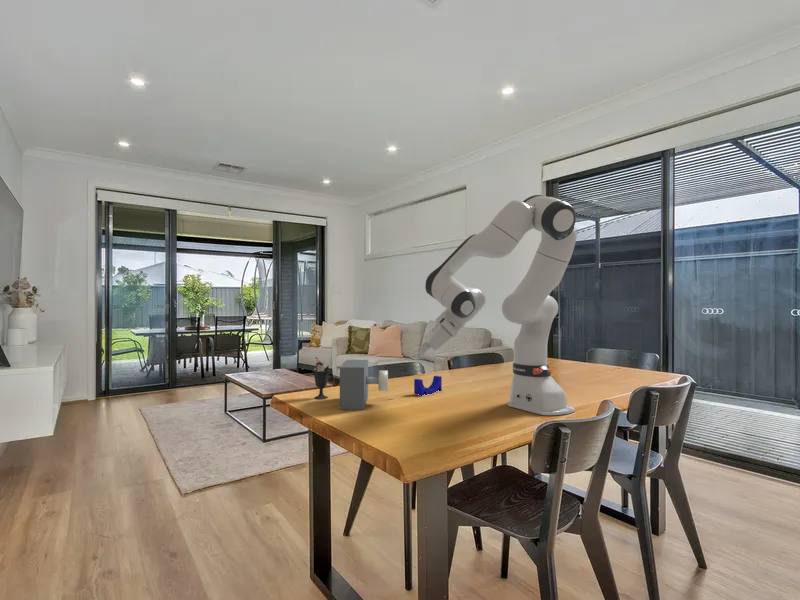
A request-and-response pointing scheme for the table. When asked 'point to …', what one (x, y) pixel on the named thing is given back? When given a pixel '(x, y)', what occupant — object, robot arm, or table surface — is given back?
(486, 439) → the table surface
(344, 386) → the block
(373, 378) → the knob
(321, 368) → the sundae
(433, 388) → the blue u-shaped block
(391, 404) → the table surface
